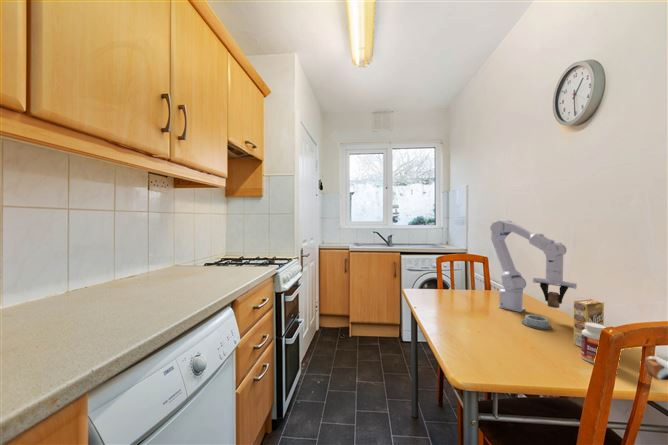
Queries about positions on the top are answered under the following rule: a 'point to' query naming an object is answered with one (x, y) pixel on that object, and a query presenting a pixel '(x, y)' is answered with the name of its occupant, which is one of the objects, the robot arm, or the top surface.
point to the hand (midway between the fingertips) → (553, 301)
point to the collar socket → (536, 322)
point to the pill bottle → (590, 341)
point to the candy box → (586, 316)
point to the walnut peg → (553, 299)
